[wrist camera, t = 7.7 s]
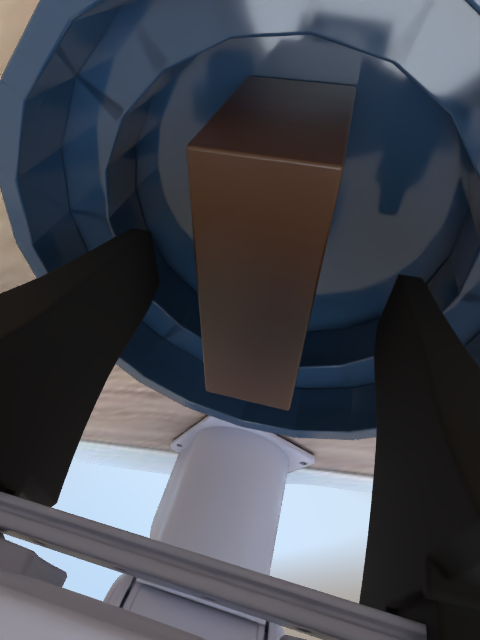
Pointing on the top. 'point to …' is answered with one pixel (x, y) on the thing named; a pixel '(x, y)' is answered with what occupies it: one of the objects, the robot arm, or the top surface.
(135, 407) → the top surface
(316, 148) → the bar
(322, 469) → the top surface
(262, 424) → the bowl
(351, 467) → the top surface
